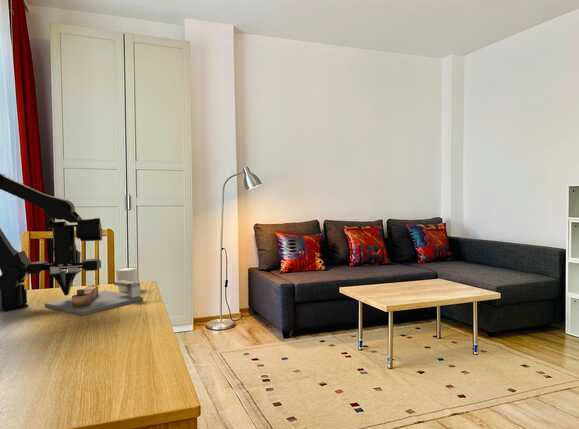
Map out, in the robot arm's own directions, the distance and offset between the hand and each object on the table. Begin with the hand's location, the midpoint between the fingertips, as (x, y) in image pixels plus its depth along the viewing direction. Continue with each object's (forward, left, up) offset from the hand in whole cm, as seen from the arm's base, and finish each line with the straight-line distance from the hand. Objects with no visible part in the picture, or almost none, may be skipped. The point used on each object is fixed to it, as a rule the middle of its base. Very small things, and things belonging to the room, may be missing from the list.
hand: (66, 295), depth 130 cm
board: (+4, -8, -2) cm, 9 cm away
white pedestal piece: (+21, 0, -3) cm, 21 cm away
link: (+3, -6, -1) cm, 7 cm away
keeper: (+12, -12, -2) cm, 17 cm away
